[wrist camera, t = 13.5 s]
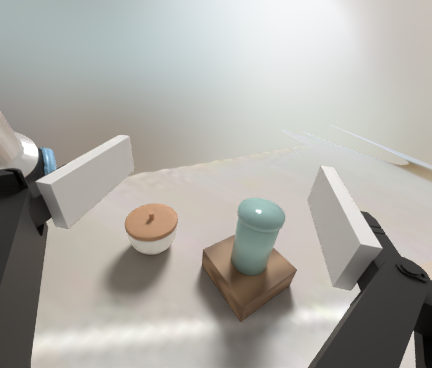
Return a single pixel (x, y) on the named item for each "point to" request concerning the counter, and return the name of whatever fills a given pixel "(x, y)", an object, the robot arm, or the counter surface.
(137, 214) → the lidded jar
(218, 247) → the slab
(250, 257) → the canister
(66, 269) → the counter surface
